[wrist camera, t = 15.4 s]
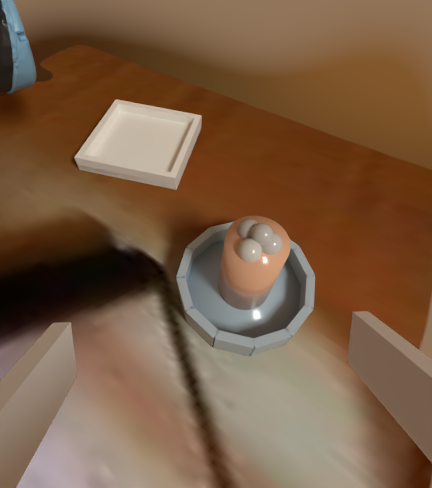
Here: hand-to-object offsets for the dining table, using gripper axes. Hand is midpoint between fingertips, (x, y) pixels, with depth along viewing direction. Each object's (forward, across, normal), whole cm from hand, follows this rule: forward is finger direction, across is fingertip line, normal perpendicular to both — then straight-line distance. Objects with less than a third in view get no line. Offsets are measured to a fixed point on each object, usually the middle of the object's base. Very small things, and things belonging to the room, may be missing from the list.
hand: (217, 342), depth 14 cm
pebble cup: (+22, +6, -6) cm, 24 cm away
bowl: (+23, +6, -7) cm, 25 cm away
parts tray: (+42, -9, +12) cm, 45 cm away
